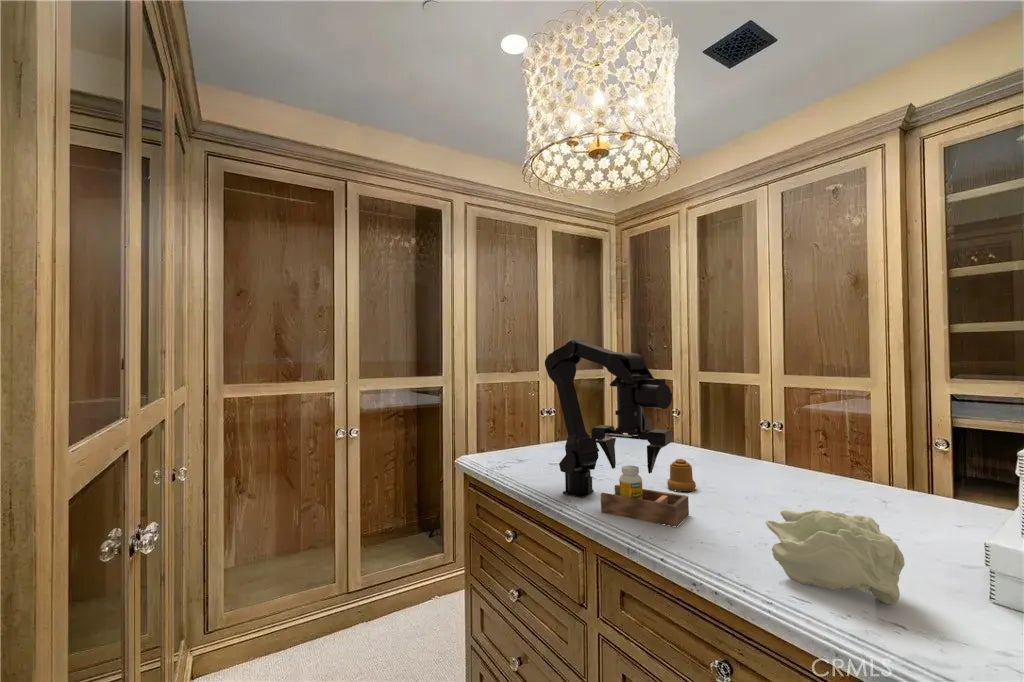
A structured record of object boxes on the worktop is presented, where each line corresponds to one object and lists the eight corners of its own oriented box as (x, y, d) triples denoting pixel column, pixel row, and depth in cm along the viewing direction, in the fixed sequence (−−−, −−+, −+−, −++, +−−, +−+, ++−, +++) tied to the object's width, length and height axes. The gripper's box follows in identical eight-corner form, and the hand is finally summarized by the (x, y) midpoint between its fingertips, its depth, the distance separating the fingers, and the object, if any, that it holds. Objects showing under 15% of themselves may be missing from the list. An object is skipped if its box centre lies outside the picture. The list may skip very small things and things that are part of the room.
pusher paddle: (653, 515, 109) (653, 502, 109) (663, 507, 114) (662, 495, 114) (658, 516, 108) (658, 503, 108) (668, 508, 113) (667, 496, 113)
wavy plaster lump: (797, 620, 80) (745, 529, 84) (842, 582, 85) (791, 499, 90) (903, 630, 64) (832, 518, 69) (949, 583, 70) (881, 482, 74)
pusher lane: (601, 512, 115) (600, 493, 115) (616, 502, 122) (616, 484, 122) (676, 527, 104) (675, 506, 104) (688, 515, 112) (688, 495, 112)
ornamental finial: (692, 485, 136) (698, 493, 128) (665, 484, 137) (669, 492, 130) (692, 457, 136) (697, 463, 129) (664, 456, 137) (668, 462, 130)
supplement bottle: (630, 502, 119) (629, 463, 119) (647, 507, 115) (646, 467, 115) (615, 506, 116) (614, 466, 116) (632, 512, 112) (631, 471, 112)
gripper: (679, 404, 116) (681, 468, 116) (608, 400, 128) (610, 459, 127) (663, 409, 107) (665, 479, 107) (588, 405, 119) (590, 468, 118)
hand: (631, 470), depth 115 cm, fingers open, 9 cm apart
